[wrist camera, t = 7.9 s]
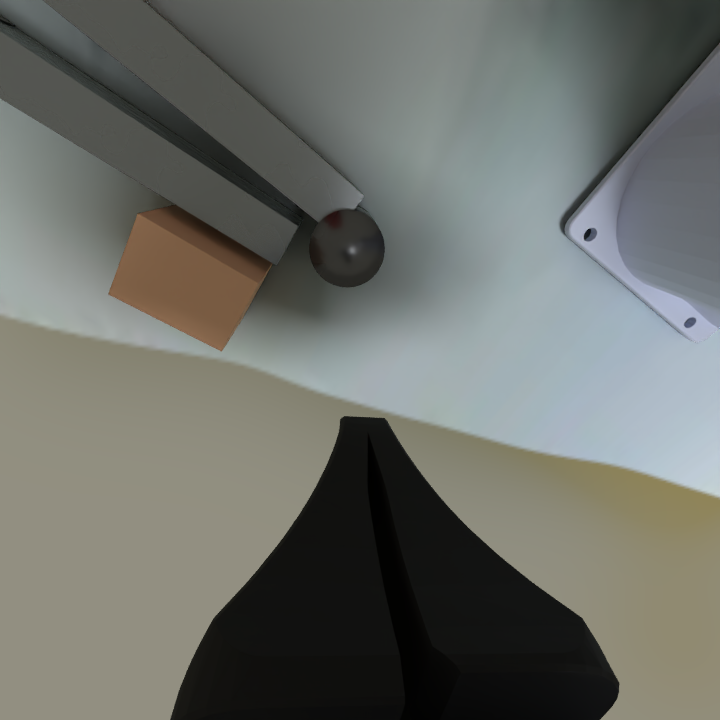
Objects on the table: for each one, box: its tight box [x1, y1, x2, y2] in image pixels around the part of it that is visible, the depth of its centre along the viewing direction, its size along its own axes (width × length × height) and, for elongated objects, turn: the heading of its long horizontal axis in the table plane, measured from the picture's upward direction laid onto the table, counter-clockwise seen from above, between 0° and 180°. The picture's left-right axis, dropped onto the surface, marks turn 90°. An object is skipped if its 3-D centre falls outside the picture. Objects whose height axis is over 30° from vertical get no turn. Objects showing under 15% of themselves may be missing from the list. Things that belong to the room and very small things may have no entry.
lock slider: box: [109, 205, 273, 351], centre depth 14 cm, size 4×3×3 cm
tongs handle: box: [0, 16, 303, 266], centre depth 12 cm, size 13×2×2 cm, turn 56°
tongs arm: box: [43, 0, 385, 287], centre depth 11 cm, size 16×3×2 cm, turn 51°
